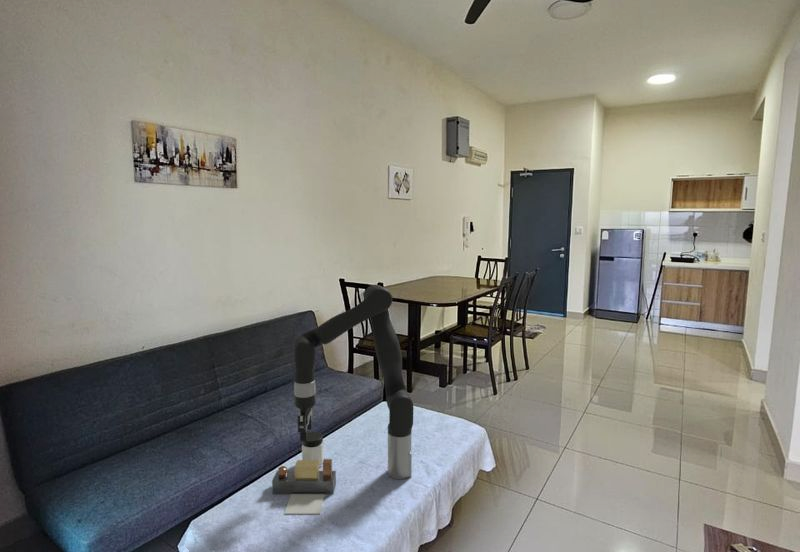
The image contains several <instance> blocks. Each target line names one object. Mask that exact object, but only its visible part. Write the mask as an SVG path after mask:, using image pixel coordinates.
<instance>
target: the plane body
mask: <svg viewBox="0 0 800 552" xmlns="http://www.w3.org/2000/svg"><path fill="white" fill-rule="evenodd" d="M287 469H288V468H287V466H286V465H285V466H284V465H283V466H279V467H278V469H277V471H276V472H275V474H274V476H273V478H272V481H271V482H272V483H271V484H272V486H271V487H272V488H271V489H272V495H291V494H325V495H334V494H335V489H336V484H337V475H336V474H337V473H336V470H333V459H332V458H323V464H322V470H319V475H318V478H317V480H295V470H287Z"/></svg>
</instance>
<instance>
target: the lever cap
mask: <svg viewBox="0 0 800 552" xmlns="http://www.w3.org/2000/svg"><path fill="white" fill-rule="evenodd" d="M294 471H295V480H317V478H318V475H319V471H320V467H319V460H302V459H297V460H296V462H295V464H294Z"/></svg>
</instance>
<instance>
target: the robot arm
mask: <svg viewBox="0 0 800 552" xmlns="http://www.w3.org/2000/svg"><path fill="white" fill-rule="evenodd" d="M363 293H364V294H363V300H362V301H361V302H360V303H358V304H357V305H355V306H354V307H352V308H350V309H347V310H346V311H343V312H341V313H338V314H337V315H335V316H333V317H331V318H330V319H328V320H326V321H325V322H323V323H322V324H319V325H318V326H317V327H316V328H315V327H314V328H313V329H310V330H309V331H307V332H304V333H303V334H301V335H299V336H298V337H297V338H296V339H295V340H294V341H293V344H292V349H293V352H294V363H295V366H294V374H293V376H294V377H293V378H294V384H293V385H294V386H293V394H294V395H293V396H294V399H293V401H294V407H296V408H297V409H299V411H298V416H297V432H298V433H299V440H300V442H302V441H306V440H307V433H308V430H312V427H313V426H312V425H313V423H312V419H313V415H314V410H313V408H314V407H315V406H316V404H317V396H316V395H317V391H316V387H317V386H316V379H315V378H316V376H315V361H316V359H315V357H316V348H318V347H319V346H321V345H328V344H330V343H331V342H333V341H334V340H336V339H337V338H339V337H340V336H342V335H343V334H345V333H347V332H348V331H349V330H350V329H353V328H354V327H356V326H358V325H359V324H361V323H363V322H365V321H367V320H368V319H369V320H370V324H371V329H372V336H373V337H372V338H373V345H374V348H375V349H374V350H375V355H376V358H377V362H378V366H379V369H380V372H381V374H382V377H383V382H384V389H385V401H386V404H387V407H388V410H389V417H388V418H389V419H388V422H389V423H388V424H387V474H388V476H389V477H390V478H392V479H395V480H404V479H407V478H412V467H413V466H412V461H413V460H412V458H413V456H412V432H413V430H412V429H413V426H414V410H415V409H414V402H413V400H412V398H411V397H410V394H409V393H408V389H407V387H406V385H405V381H404V377H403V356H402V350H401V345H400V341H399V339H398V335H397V333H396V331H395V329H394V326H393V323H392V321H391V318H390V315H389V314H390V312H389V309H390V308H391V306H392V304H393V295H392V292H390V291H389V290H388V289H387V288H385V287H384V286H382V285H378V284H371V285H369V286H368V287H367V288H366V289H365V291H364V292H363Z"/></svg>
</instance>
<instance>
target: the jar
mask: <svg viewBox="0 0 800 552" xmlns="http://www.w3.org/2000/svg"><path fill="white" fill-rule="evenodd" d="M323 439H324V438H323V434H322V433H321V432H319V431H307V440H306V441H301V443H302V445H301V460H319V468H323V460H324V440H323Z"/></svg>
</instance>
